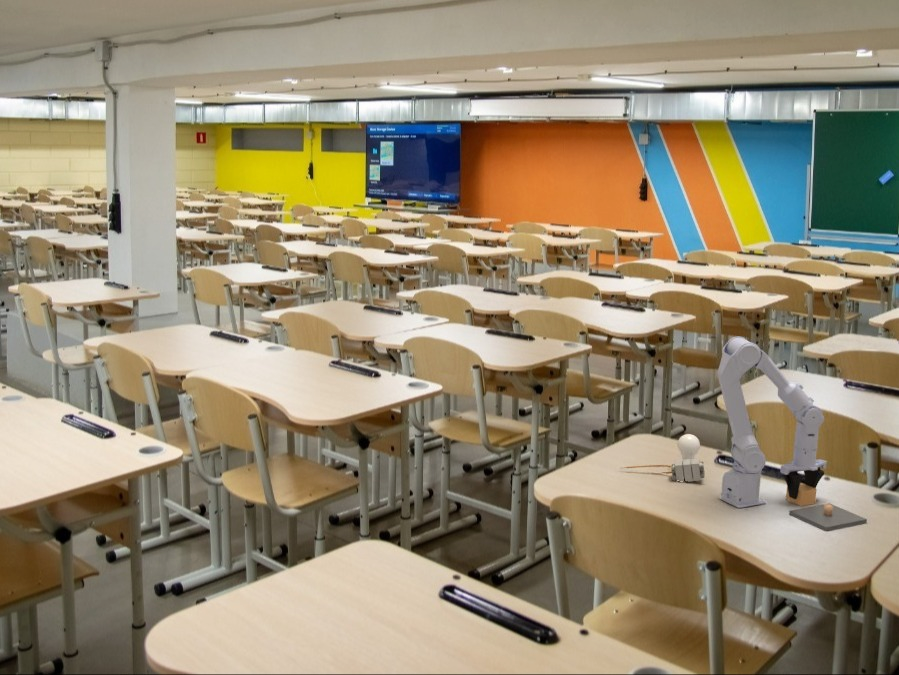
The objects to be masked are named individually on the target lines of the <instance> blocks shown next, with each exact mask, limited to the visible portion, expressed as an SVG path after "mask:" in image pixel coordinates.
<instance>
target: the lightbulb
mask: <svg viewBox="0 0 899 675" xmlns="http://www.w3.org/2000/svg"><path fill="white" fill-rule="evenodd" d="M677 448H678V451H679V453H680V454H681V460H685V459H691V461H692V459H695V456H696V455H697V453H699V450H700V448H701V443H700V440H699V438H698V437H697V436H696V435H694V434H692V433H685V434H684V435H682V436H680V437H679V439H678V441H677Z"/></svg>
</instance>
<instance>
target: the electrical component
mask: <svg viewBox="0 0 899 675" xmlns="http://www.w3.org/2000/svg"><path fill="white" fill-rule="evenodd" d="M647 467H648V468H651V467H653V468H654V467H656V468H657V467H658V468H660V467H662V468H664V467H666V468H671V469H670V470H671V471H664V472H662V473H666V475H667V474H668V475H669V474H671V476H672V478H671V479H672V481H677V480H679V481H684V479H685V481H688V483H690V482H699V481H702V479H705V477H706V476H705V465H704V461H700V458H698V457H697V458H694V459H692V461H691V459H685V460H682V459H676V460H675V461H674V463H672V464H671V465H667V464H666V465H664V464H658V465H657V464H655V465H654V464H653V465H651V464H650V465H640V466H639V465H637V466H635V465H633V466H624V467H621V469H634V468H647ZM685 481H684V482H685Z"/></svg>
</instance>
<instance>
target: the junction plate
mask: <svg viewBox="0 0 899 675" xmlns="http://www.w3.org/2000/svg"><path fill="white" fill-rule="evenodd" d="M788 515H790V516H792V517H794V518H795V519H799V520H801V521H803V522H806V523H808V524H809V525H811V526H814V527H816V528H818V529H819V530H820V529H821V530H823V531H825V532H829V531H834V530H838V529H839V530H840V529H843V528H848V527H853V526H858V525H863V524H867V521H868V520H867V518H865V517H863V516H860V515H859V514H856V513H853V512H850V511H848V510H847V509H844V508H841V507H839V506H837V505H835V504H832V503H823V504H818V505H813V506H812V505H811V506H806V507H802V508H797V509H791V510H789V513H788Z"/></svg>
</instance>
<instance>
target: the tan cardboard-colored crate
mask: <svg viewBox="0 0 899 675" xmlns="http://www.w3.org/2000/svg"><path fill="white" fill-rule="evenodd" d="M816 496H817V488H816V489H815V488H813V487H810V486H808V485H806V484H805V483H803V482H801V483H800V486H799V491H798V496H797V499H793V498H791V497H789V492H788V487H787V486H786V495H785V500H787V501H789V502H791V503H793V504H795V505H797V506H800V507H802V506H807V505H814V504H816V499H817V498H816Z"/></svg>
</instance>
